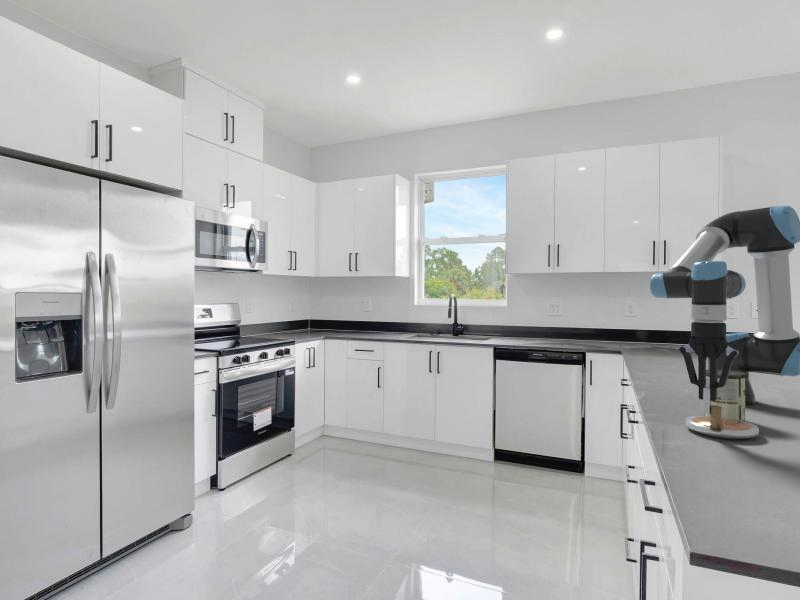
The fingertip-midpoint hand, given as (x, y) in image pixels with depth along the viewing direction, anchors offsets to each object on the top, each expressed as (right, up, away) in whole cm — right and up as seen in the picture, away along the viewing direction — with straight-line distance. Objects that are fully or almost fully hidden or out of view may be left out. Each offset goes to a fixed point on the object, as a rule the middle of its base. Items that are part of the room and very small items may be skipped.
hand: (707, 412), depth 119 cm
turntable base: (+6, -6, +4) cm, 10 cm away
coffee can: (+16, -6, +17) cm, 24 cm away
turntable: (+6, -5, +4) cm, 9 cm away
